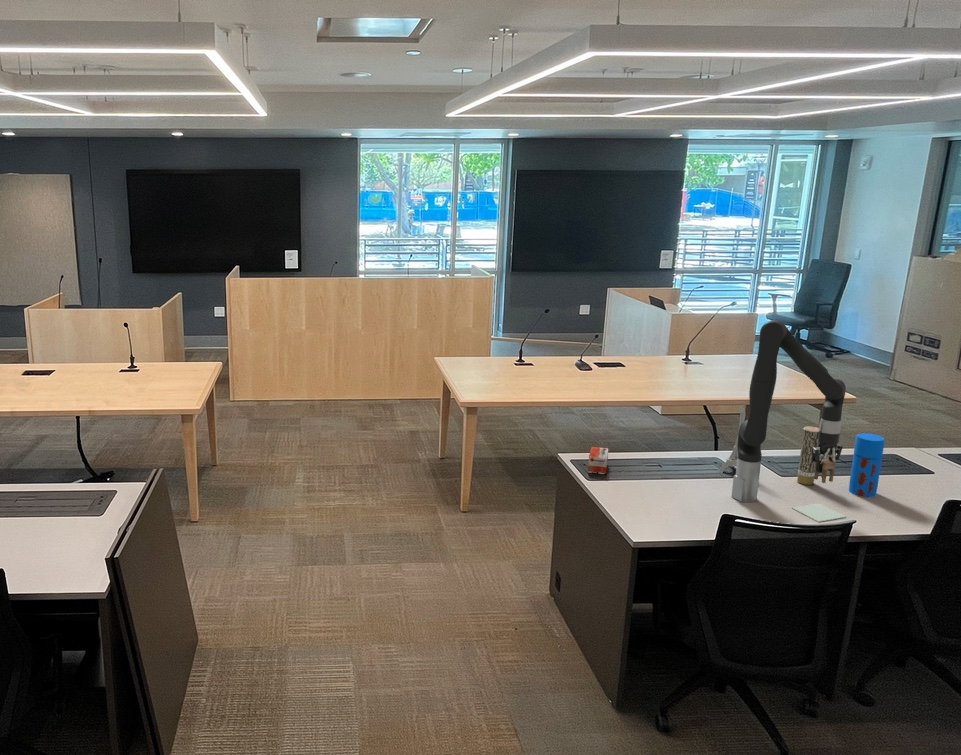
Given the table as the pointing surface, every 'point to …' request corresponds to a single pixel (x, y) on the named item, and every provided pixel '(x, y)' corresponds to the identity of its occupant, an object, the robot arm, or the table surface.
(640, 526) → the table surface
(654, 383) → the table surface
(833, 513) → the pad
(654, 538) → the table surface
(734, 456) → the eiffel tower
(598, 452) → the medicine box
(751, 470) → the robot arm
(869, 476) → the thermos
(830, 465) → the stool
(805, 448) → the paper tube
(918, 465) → the table surface
